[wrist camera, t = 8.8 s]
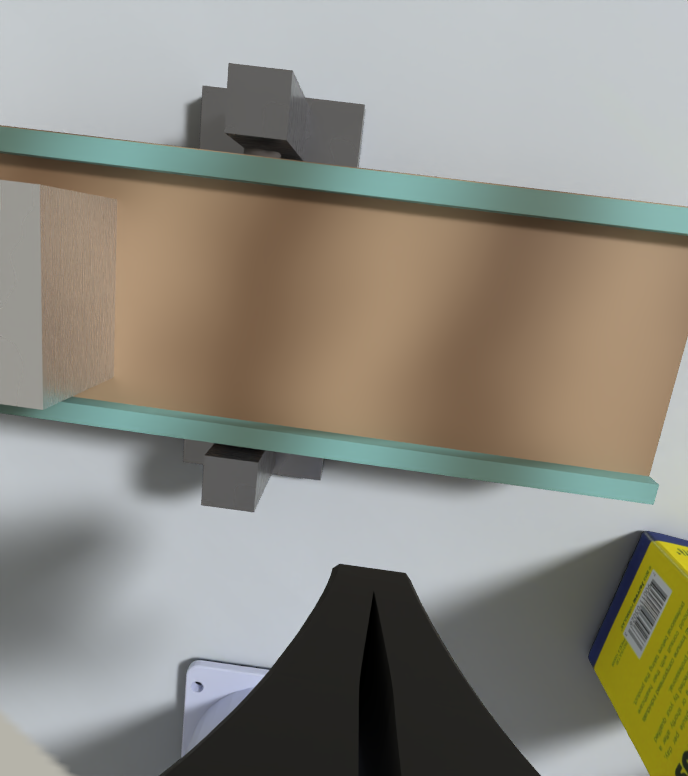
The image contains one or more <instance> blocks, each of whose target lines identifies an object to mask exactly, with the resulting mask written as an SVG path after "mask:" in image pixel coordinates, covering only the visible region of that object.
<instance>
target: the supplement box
mask: <svg viewBox="0 0 688 776" xmlns="http://www.w3.org/2000/svg"><path fill="white" fill-rule="evenodd" d="M588 658H589V661H590V663H591V665H592V667H593V668H594V670H595V672H596V674H597V676H598V678H599V680H600V682H601V684H602V685H603V687H604V689H605V691H606V693H607V695H608V697H609V699H610V700H611V702H612V704H613V706H614V708H615V710H616V712H617V714H618V716H619V718H620V720H621V722H622V724H623V726H624V727H625V729H626V731H627V733H628V735H629V737H630V739H631V741H632V742H633V744H634V746H635V748H636V750H637V752H638V754H639V755H640V757H641V759H642V761H643V763H644V765H645V767H646V769H647V770H648V772H649V774H650V776H688V541H687V540H683V539H679V538H676V537H672V536H668V535H664V534H660V533H655V532H650V531H645V532H643V533H642V535H641V538H640V540H639V542H638V545H637V547H636V549H635V551H634V554H633V556H632V558H631V560H630V561H629V564H628V567H627V570H626V572H625V574H624V576H623V578H622V581H621V583H620V585H619V587H618V590H617V592H616V594H615V597H614V599H613V601H612V603H611V606H610V608H609V610H608V612H607V614H606V617H605V619H604V621H603V623H602V626H601V628H600V630H599V632H598V635H597V637H596V639H595V642H594V644H593V646H592V648H591V650H590V653H589V656H588Z"/></svg>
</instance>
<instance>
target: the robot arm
mask: <svg viewBox="0 0 688 776" xmlns="http://www.w3.org/2000/svg"><path fill="white" fill-rule="evenodd" d="M195 682H200V683H202V685H198V684H196V683H195ZM160 776H541V775H540V774H539V773H538V772H537V771H536V770H535V769H534V767H533V766H532V765H531V764H530V763H529V762H528V761H527V759H526V758H525V757H524V756H523V755H522V754H521V753H520V751H519V750H518V749H517V748H516V746H515V745H514V744H513V743H512V741H511V740H510V739H509V738H508V736H507V735H506V734H505V733H504V731H503V730H502V729H501V728H500V726H499V725H498V724H497V722H496V721H495V720H494V718H493V717H492V716H491V714H490V713H489V712H488V710H487V709H486V708H485V706H484V705H483V703H482V702H481V701H480V699H479V698H478V696H477V695H476V693H475V692H474V690H473V689H472V688H471V686H470V685H469V683H468V682H467V680H466V679H465V677H464V676H463V674H462V673H461V671H460V670H459V668H458V666H457V665H456V663H455V662H454V660H453V658H452V657H451V655H450V653H449V652H448V650H447V648H446V647H445V645H444V643H443V642H442V640H441V638H440V637H439V635H438V633H437V632H436V630H435V628H434V626H433V624H432V623H431V621H430V619H429V617H428V615H427V613H426V611H425V609H424V607H423V606H422V604H421V602H420V600H419V597H418V595H417V593H416V591H415V589H414V587H413V585H412V582H411V580H410V579H409V577H408V576H407V575H406V573H401V572H394V571H387V570H380V569H373V568H366V567H358V566H351V565H344V564H339V565H337V566H336V567H334V568H333V569H332V573H331V576H330V579H329V581H328V583H327V586H326V588H325V590H324V592H323V593H322V595H321V597H320V599H319V601H318V602H317V604H316V606H315V608H314V609H313V611H312V612H311V614H310V615H309V617H308V618H307V620H306V622H305V623H304V625H303V626H302V628H301V629H300V631H299V632H298V634H297V635H296V636H295V638H294V639H293V640H292V642H291V643H290V644H289V646H288V647H287V648H286V650H285V651H284V652H283V653H282V655H281V656H280V657H279V659H278V660H277V661H276V663H275V664H274V665H273V666H272V668H271V669H270V670H266V669H259V668H252V667H245V666H238V665H231V664H224V663H217V662H210V661H203V660H196V661H194V662H192V663H191V664H190V665H189V668H188V670H187V673H186V684H185V701H184V718H183V735H182V751H181V759H180V760H178V761H177V762H176V763H175V764H173V765H172V766H171V767H170V768H168V769H167V770H166V771H165V772H163V773H162V774H161V775H160Z"/></svg>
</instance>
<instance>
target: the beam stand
mask: <svg viewBox="0 0 688 776" xmlns="http://www.w3.org/2000/svg"><path fill="white" fill-rule="evenodd" d="M364 117H365V105H363V104H354V103H346V102H337V101H329V100H320V99H312V98H305V96H304V94H303V92H302V90H301V88H300V85H299V83H298V81H297V79H296V77H295V75H294V72H293V71H292V70H283V69H274V68H266V67H257V66H249V65H240V64H232V63H229V66H228V82H227V88H219V87H210V86H203V89H202V109H201V128H200V147H199V149H204V150H213V151H221V152H230V153H238V154H244V148H260V149H266V150H271V151H275V152H278V153H280V154H281V159H289V160H297V161H306V162H314V163H323V164H331V165H339V166H348V167H356V168H358V167H359V159H360V150H361V142H362V134H363V125H364ZM183 462H187V463H195V464H202V465H204V468H203V484H202V500H201V505H204V506H211V507H219V508H226V509H234V510H241V511H248V512H254V511H255V509H256V507H257V504H258V502H259V500H260V498H261V496H262V494H263V491H264V489H265V487H266V485H267V483H268V481H269V478H270V476H271V474H276V475H284V476H291V477H299V478H306V479H314V480H320V479H321V475H322V470H323V462H324V458H317V457H310V456H303V455H296V454H289V453H282V452H275V451H267V450H260V449H253V448H246V447H234V446H230V445H225V444H218V443H210V442H203V441H196V440H189V439H184V453H183Z"/></svg>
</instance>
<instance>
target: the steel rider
mask: <svg viewBox="0 0 688 776" xmlns="http://www.w3.org/2000/svg"><path fill="white" fill-rule="evenodd" d="M116 236H117V199H112V198H107V197H102V196H97V195H92V194H86V193H81V192H76V191H71V190H66V189H60V188H55V187H50V186H45V185H40V184H31V183H23V182H15V181H7V180H0V404H4V405H11V406H18V407H25V408H32V409H40V410H44V409H46V408H48V407H50V406H53V405H55V404H57V403H59V402H61V401H63V400H66V399H68V398H70V397H72V396H74V395H76V394H78V393H81V392H83V391H85V390H87V389H89V388H91V387H94V386H96V385H98V384H100V383H102V382H104V381H107V380H109V379H111V378H113V377H114V345H115V290H116Z"/></svg>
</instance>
